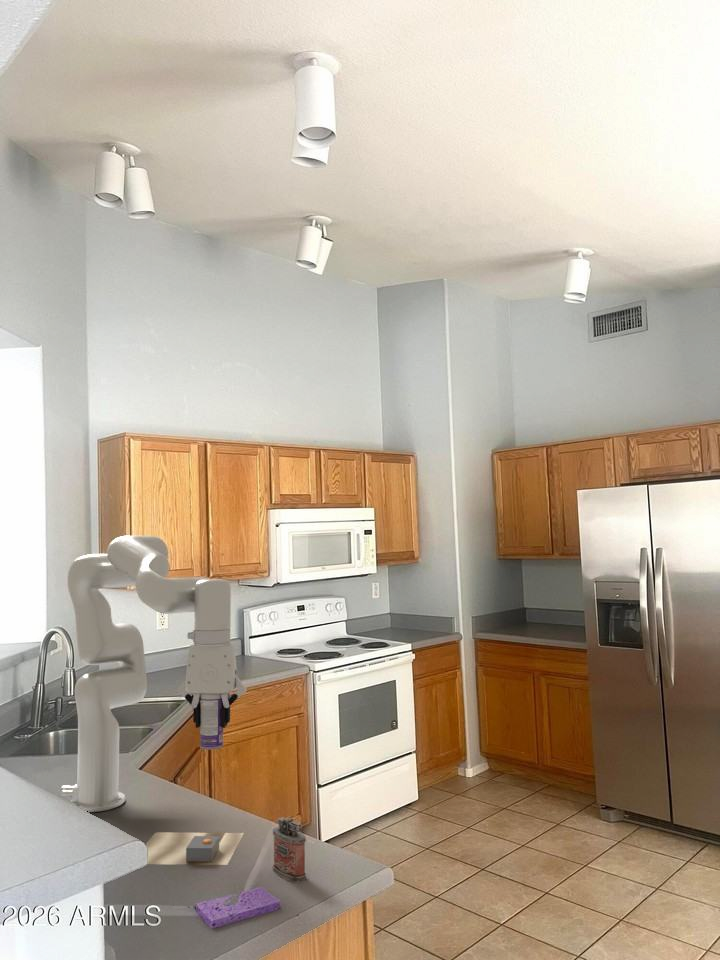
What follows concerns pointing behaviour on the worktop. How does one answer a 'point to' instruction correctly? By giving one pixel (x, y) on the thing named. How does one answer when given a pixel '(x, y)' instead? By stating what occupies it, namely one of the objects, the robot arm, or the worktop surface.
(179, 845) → the board
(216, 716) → the container
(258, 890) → the sponges
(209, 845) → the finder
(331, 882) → the worktop surface
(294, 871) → the lighter
